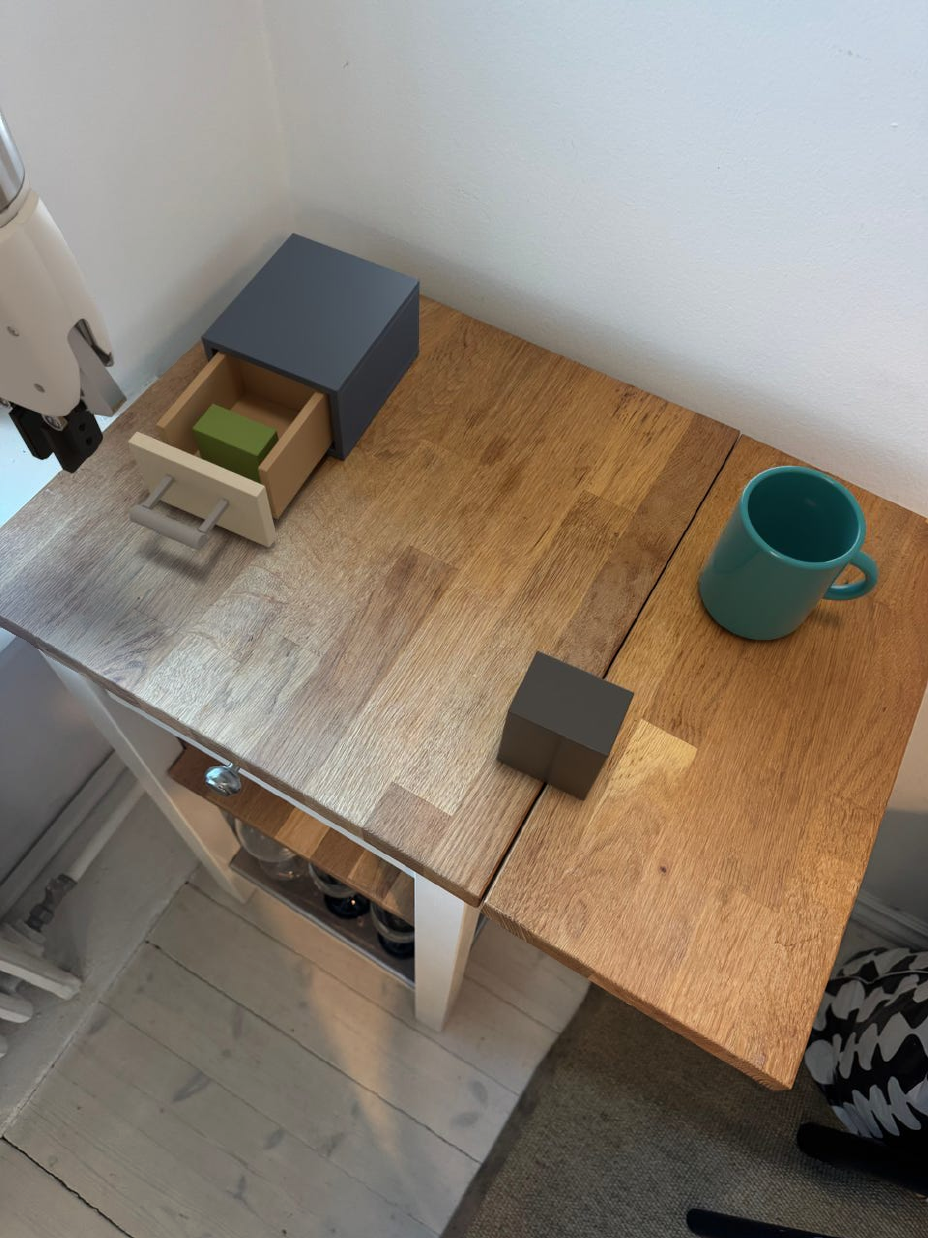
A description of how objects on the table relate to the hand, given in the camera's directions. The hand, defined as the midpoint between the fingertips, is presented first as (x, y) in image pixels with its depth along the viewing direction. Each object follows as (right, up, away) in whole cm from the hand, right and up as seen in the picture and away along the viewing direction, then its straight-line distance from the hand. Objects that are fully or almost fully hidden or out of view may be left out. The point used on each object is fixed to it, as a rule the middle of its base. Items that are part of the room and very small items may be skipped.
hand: (69, 447), depth 53 cm
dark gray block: (+30, -20, +12) cm, 38 cm away
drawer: (+5, +1, +22) cm, 22 cm away
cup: (+49, -9, +20) cm, 53 cm away
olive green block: (+5, +3, +21) cm, 22 cm away
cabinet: (+11, +12, +29) cm, 33 cm away
